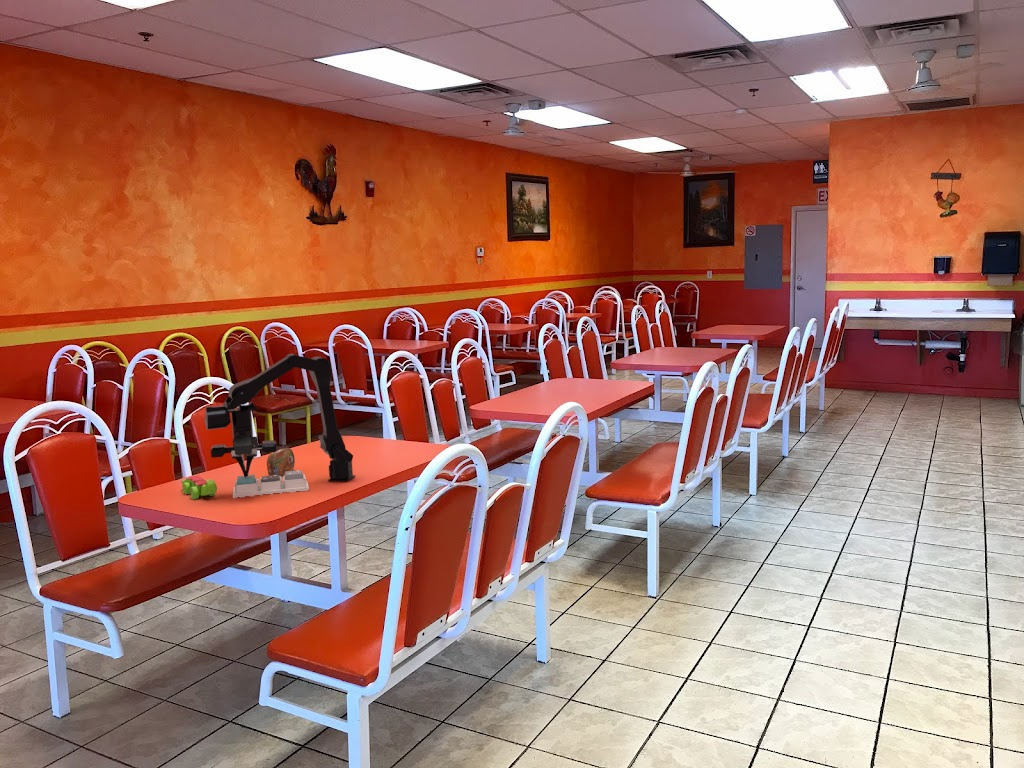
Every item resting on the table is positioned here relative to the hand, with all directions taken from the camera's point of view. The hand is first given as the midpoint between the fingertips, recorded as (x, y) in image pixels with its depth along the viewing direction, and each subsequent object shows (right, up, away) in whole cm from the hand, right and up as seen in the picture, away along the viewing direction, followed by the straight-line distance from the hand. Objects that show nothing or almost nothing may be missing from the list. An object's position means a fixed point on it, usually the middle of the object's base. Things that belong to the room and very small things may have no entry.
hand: (246, 476), depth 254 cm
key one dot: (0, -3, 0) cm, 3 cm away
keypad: (+7, -5, +3) cm, 9 cm away
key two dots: (+13, -2, +4) cm, 14 cm away
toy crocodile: (-15, -6, +1) cm, 16 cm away
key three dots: (+7, -3, +2) cm, 8 cm away
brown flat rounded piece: (+5, -2, +23) cm, 23 cm away
